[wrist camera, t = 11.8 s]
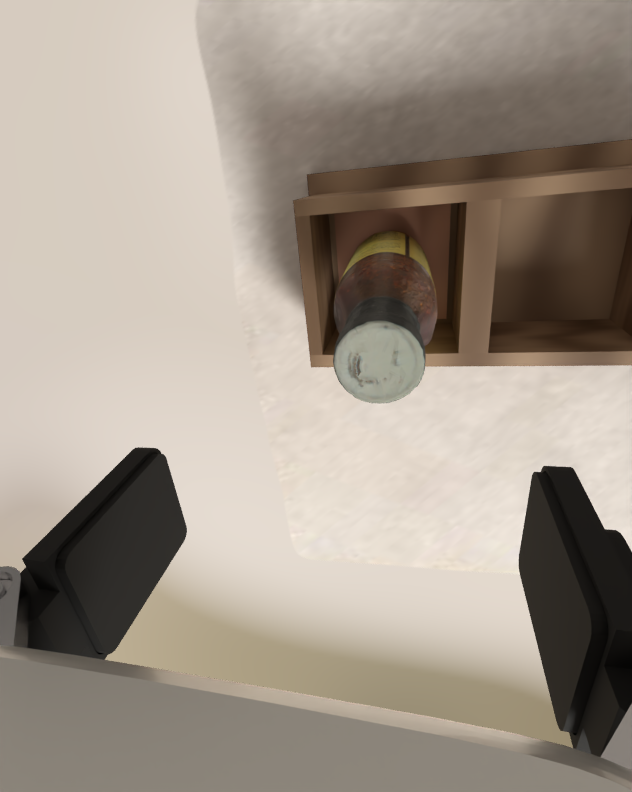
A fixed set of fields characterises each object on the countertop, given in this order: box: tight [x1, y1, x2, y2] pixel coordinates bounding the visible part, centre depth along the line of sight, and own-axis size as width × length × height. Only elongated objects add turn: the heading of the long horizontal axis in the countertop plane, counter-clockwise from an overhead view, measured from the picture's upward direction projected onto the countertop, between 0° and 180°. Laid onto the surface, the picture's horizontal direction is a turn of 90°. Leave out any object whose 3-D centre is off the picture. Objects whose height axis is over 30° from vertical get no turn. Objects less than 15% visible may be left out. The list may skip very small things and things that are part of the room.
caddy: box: [293, 139, 632, 367], centre depth 32 cm, size 25×15×8 cm, turn 96°
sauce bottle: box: [333, 231, 438, 403], centre depth 27 cm, size 7×6×20 cm
